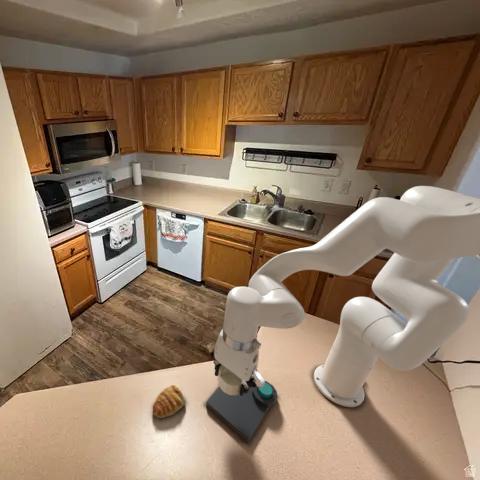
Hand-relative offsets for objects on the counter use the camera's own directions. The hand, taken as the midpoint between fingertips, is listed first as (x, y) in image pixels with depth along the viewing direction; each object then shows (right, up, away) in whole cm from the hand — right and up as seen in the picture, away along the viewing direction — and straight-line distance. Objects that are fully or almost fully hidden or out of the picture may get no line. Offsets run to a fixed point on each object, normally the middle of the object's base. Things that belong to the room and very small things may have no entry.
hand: (230, 381), depth 69 cm
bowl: (0, -1, 0) cm, 1 cm away
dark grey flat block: (+4, -9, +5) cm, 11 cm away
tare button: (+11, -5, +4) cm, 13 cm away
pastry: (-16, -10, +5) cm, 19 cm away
